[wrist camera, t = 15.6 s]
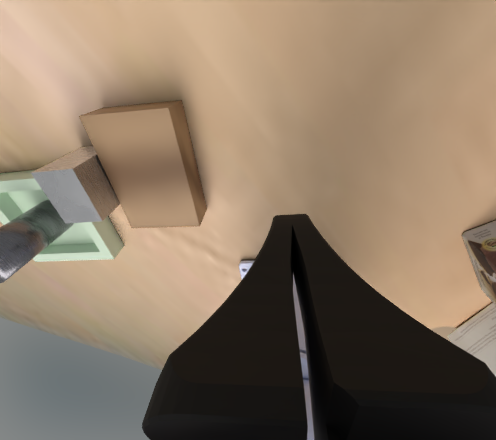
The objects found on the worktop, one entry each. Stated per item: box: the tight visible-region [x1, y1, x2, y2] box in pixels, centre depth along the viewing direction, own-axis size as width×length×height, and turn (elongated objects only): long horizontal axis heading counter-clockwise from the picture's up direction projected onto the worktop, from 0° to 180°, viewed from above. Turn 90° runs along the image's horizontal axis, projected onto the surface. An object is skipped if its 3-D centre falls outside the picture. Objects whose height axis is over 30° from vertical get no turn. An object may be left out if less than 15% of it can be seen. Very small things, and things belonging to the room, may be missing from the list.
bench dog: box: [31, 146, 120, 223], centre depth 18 cm, size 4×3×5 cm
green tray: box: [0, 170, 124, 262], centre depth 23 cm, size 9×9×2 cm
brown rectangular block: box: [79, 100, 207, 228], centre depth 19 cm, size 9×6×3 cm, turn 6°
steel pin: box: [0, 200, 74, 283], centre depth 20 cm, size 3×3×7 cm
